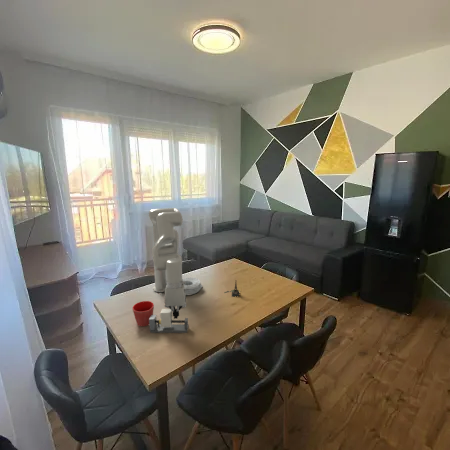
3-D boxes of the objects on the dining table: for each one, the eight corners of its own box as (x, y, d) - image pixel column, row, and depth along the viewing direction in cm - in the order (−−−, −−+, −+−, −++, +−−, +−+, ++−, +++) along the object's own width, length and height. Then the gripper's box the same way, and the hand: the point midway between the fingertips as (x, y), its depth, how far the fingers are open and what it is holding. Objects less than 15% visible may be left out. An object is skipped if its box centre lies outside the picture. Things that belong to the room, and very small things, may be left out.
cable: (203, 285, 177) (203, 277, 175) (198, 297, 160) (198, 288, 158) (179, 284, 178) (179, 276, 177) (172, 295, 161) (171, 287, 160)
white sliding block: (161, 326, 124) (160, 312, 122) (162, 322, 127) (162, 308, 126) (170, 326, 124) (170, 312, 122) (172, 322, 127) (171, 308, 126)
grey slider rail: (149, 332, 123) (148, 320, 122) (152, 326, 129) (151, 313, 127) (187, 332, 124) (186, 320, 122) (188, 326, 129) (188, 314, 128)
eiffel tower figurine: (249, 297, 160) (250, 278, 157) (238, 302, 154) (238, 282, 151) (234, 289, 171) (234, 271, 169) (223, 293, 165) (223, 274, 162)
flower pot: (137, 331, 125) (136, 314, 123) (131, 320, 133) (130, 304, 131) (157, 323, 131) (156, 307, 129) (150, 314, 139) (149, 298, 137)
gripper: (190, 280, 125) (191, 313, 129) (161, 280, 125) (163, 313, 128) (188, 287, 118) (189, 321, 121) (157, 287, 117) (159, 321, 121)
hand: (176, 317), depth 125 cm, fingers closed
